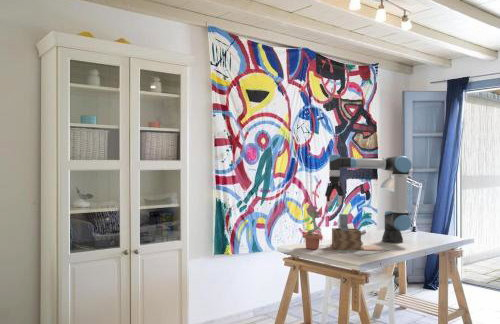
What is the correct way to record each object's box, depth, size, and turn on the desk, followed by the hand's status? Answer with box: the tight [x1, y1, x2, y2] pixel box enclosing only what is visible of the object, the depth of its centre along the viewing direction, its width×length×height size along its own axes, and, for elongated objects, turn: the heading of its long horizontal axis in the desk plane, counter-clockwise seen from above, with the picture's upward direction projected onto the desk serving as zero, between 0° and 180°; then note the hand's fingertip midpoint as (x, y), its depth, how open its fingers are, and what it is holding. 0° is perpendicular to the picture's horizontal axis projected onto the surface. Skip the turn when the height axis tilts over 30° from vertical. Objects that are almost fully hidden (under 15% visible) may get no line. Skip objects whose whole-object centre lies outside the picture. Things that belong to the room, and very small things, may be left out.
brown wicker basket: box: [330, 227, 363, 251], centre depth 302 cm, size 20×13×13 cm, turn 86°
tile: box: [361, 245, 383, 252], centre depth 301 cm, size 12×14×1 cm
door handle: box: [360, 229, 367, 246], centre depth 321 cm, size 18×8×20 cm
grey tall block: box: [337, 213, 349, 231], centre depth 303 cm, size 5×13×20 cm, turn 176°
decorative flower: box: [302, 205, 324, 250], centre depth 301 cm, size 15×14×30 cm
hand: (334, 205), depth 315 cm, fingers open, 13 cm apart
